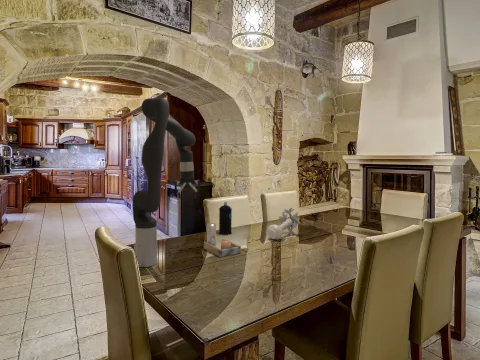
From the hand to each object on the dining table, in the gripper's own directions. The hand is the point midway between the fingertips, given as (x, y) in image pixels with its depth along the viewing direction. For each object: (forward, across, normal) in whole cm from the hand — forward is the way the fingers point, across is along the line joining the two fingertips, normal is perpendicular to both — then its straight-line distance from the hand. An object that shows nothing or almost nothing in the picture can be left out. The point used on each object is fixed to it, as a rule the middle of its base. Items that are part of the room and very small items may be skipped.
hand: (188, 198), depth 178 cm
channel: (+24, +16, -19) cm, 35 cm away
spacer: (+24, +18, -22) cm, 38 cm away
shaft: (+25, +12, -9) cm, 29 cm away
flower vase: (+28, +57, +5) cm, 64 cm away
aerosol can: (+27, +22, +17) cm, 39 cm away
